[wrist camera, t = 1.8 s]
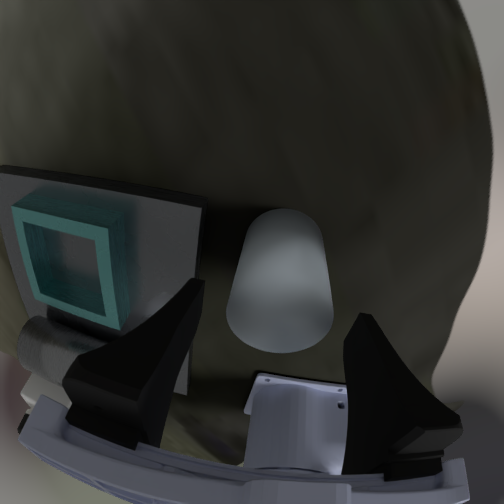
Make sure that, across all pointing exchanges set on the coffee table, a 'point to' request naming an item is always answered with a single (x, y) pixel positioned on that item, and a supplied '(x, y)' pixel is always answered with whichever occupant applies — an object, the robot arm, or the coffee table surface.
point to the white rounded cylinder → (281, 284)
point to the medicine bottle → (37, 388)
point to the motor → (94, 260)
